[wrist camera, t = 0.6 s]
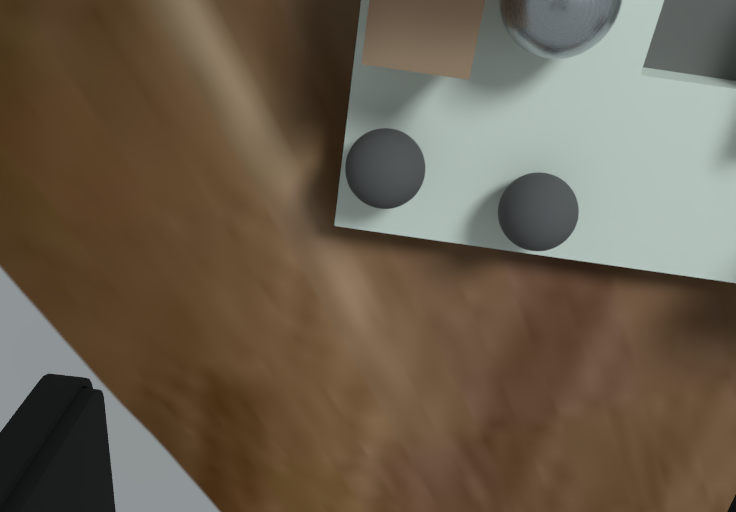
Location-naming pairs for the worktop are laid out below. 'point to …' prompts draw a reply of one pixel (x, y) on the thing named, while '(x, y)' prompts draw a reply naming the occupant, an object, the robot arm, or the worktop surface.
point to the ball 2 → (538, 211)
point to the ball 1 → (385, 168)
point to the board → (573, 139)
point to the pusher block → (423, 35)
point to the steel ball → (558, 24)
